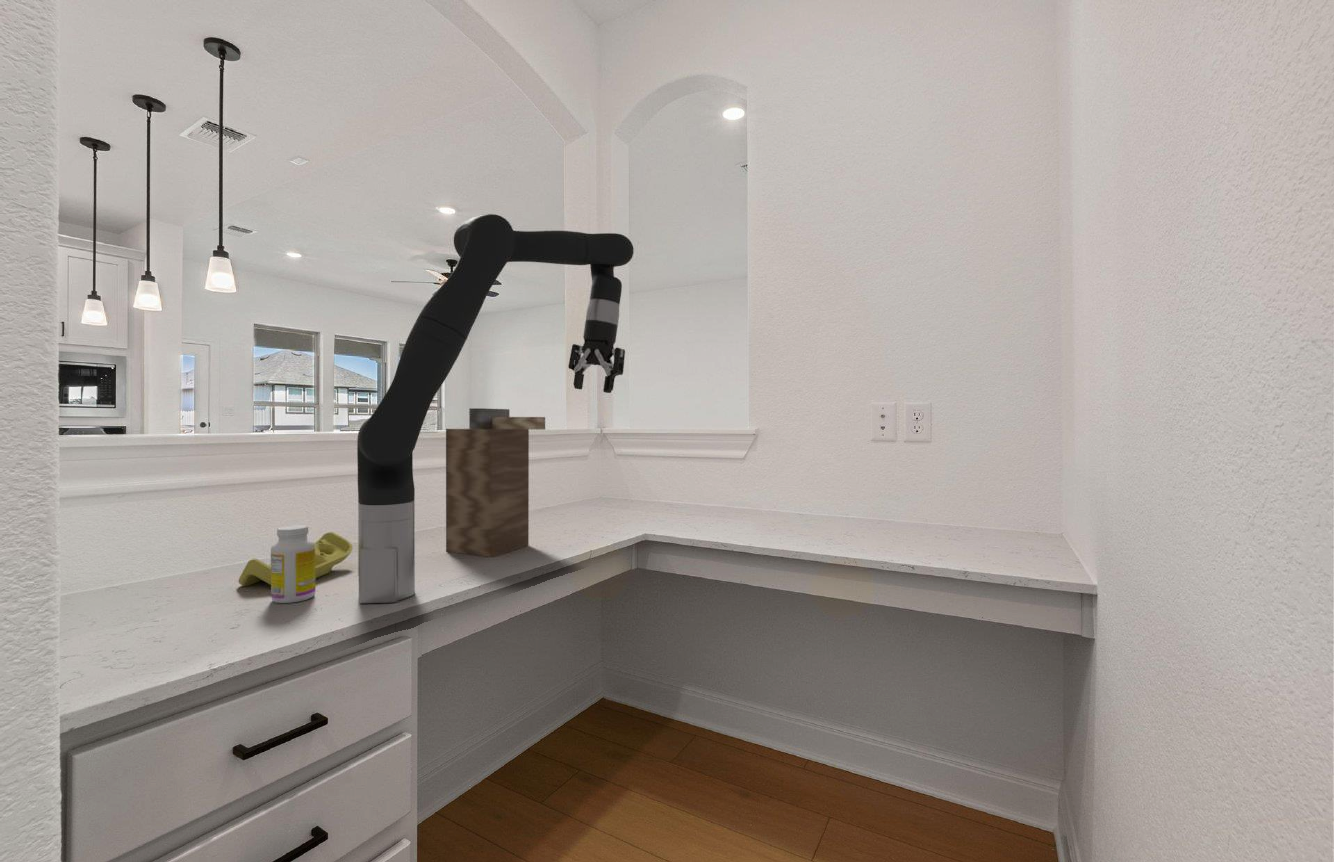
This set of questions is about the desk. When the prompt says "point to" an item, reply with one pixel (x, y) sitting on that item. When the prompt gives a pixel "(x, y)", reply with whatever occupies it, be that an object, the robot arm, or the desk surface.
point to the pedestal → (487, 491)
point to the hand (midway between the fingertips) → (592, 390)
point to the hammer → (502, 420)
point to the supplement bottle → (292, 565)
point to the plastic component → (326, 556)
